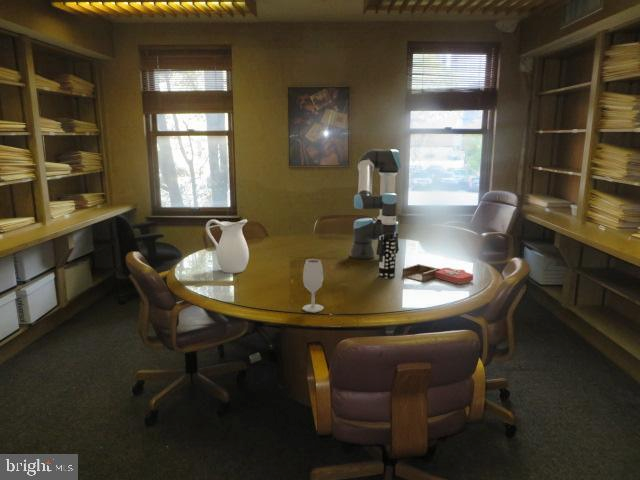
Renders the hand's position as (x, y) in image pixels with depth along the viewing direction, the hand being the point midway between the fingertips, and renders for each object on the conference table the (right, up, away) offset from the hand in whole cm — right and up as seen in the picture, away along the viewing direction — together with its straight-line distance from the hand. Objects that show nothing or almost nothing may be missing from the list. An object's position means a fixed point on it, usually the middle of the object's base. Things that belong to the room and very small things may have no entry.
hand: (387, 266), depth 248 cm
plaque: (+34, -6, -4) cm, 35 cm away
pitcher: (-85, -3, +11) cm, 86 cm away
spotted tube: (0, -5, +1) cm, 6 cm away
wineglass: (-38, -16, -49) cm, 64 cm away
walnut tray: (+18, -6, 0) cm, 18 cm away
